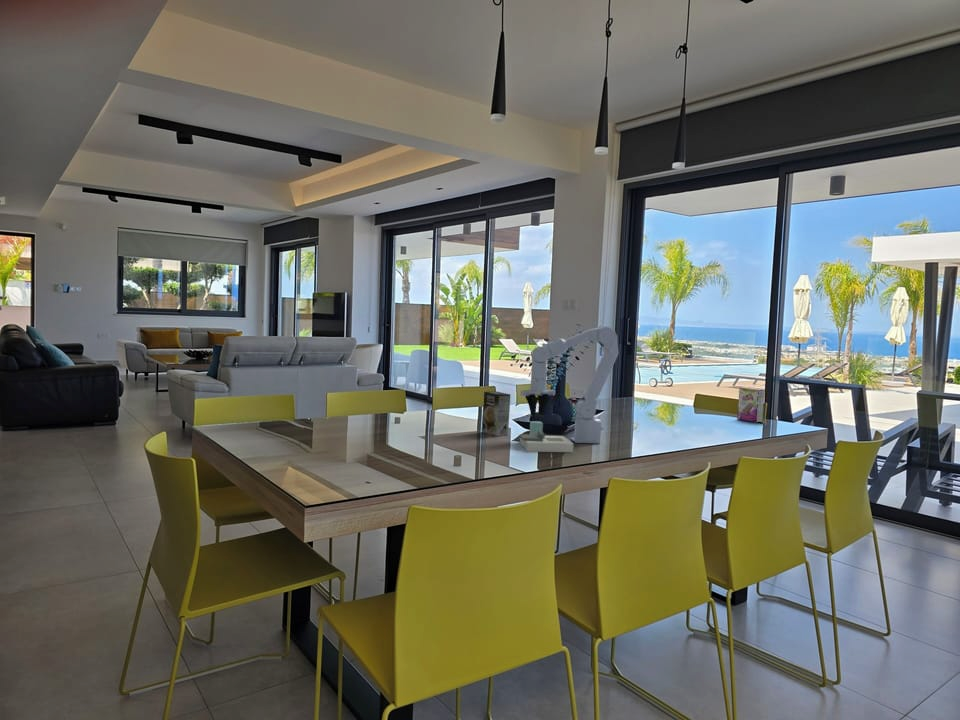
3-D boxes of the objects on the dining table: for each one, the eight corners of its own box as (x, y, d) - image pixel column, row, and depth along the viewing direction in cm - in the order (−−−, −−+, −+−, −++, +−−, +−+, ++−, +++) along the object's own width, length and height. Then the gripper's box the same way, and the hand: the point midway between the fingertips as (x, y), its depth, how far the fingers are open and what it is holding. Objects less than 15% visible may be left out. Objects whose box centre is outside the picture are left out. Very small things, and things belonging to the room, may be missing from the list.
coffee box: (481, 432, 246) (483, 391, 245) (494, 431, 250) (496, 390, 249) (496, 436, 239) (498, 394, 238) (509, 435, 243) (511, 393, 242)
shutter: (540, 436, 224) (540, 430, 224) (544, 440, 217) (544, 434, 217) (519, 436, 224) (519, 430, 223) (523, 440, 216) (523, 433, 216)
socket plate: (562, 444, 229) (563, 436, 229) (572, 452, 215) (573, 443, 215) (519, 443, 227) (520, 435, 227) (527, 451, 213) (527, 442, 213)
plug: (539, 438, 238) (540, 421, 238) (542, 440, 234) (542, 423, 234) (529, 438, 238) (530, 421, 237) (531, 440, 234) (532, 423, 233)
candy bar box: (736, 419, 313) (738, 386, 312) (743, 419, 316) (745, 386, 315) (756, 423, 303) (758, 389, 302) (762, 422, 306) (765, 389, 305)
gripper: (528, 379, 227) (527, 417, 228) (560, 379, 235) (558, 415, 236) (518, 377, 234) (516, 414, 234) (549, 377, 241) (547, 412, 242)
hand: (536, 414), depth 235 cm, fingers open, 3 cm apart
